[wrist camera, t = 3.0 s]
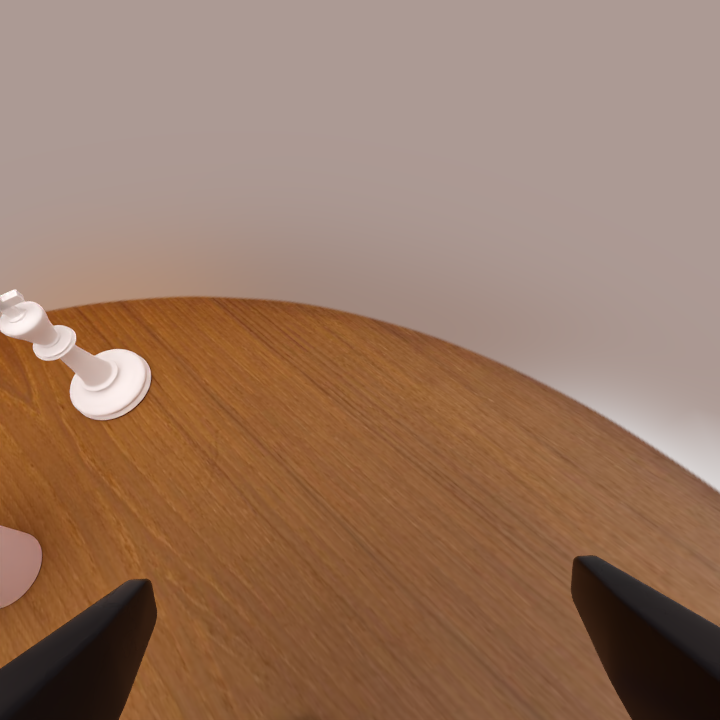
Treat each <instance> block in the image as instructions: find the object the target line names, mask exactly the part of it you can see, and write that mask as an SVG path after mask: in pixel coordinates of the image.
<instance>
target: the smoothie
mask: <svg viewBox="0 0 720 720" xmlns="http://www.w3.org/2000/svg"><path fill="white" fill-rule="evenodd" d="M41 562H42V550H41V547H40V544H39V542H38V541H37V539H36V538H35V537H33V536H32V535H30V534H28V533H24V532H21V531H18V530H14V529H11V528H7V527H4V526H1V525H0V608H3V607H6V606H8V605H10V604H12V603H13V602H15V601H16V600H18V599H19V598H20V597H21V596H22V595H23V594H25V592H26V591H27V590H28V589H29V588H30V587H31V585H32V584H33V582H34V581H35V579H36V577H37V575H38V573H39V570H40V567H41Z"/></svg>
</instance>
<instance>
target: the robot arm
mask: <svg viewBox="0 0 720 720" xmlns="http://www.w3.org/2000/svg"><path fill="white" fill-rule="evenodd" d="M571 594H572V598H573V601H574V603H575V606H576V608H577V610H578V612H579V614H580V617H581V619H582V621H583V623H584V625H585V627H586V630H587V632H588V634H589V636H590V638H591V640H592V643H593V645H594V647H595V649H596V651H597V653H598V656H599V658H600V660H601V662H602V664H603V667H604V669H605V671H606V673H607V675H608V677H609V679H610V681H611V683H612V685H613V687H614V688H615V690H616V692H617V694H618V696H619V698H620V699H621V701H622V703H623V705H624V706H625V708H626V710H627V712H628V713H629V715H630V717H631V719H632V720H720V627H718V626H717V625H715V624H713V623H711V622H710V621H708V620H706V619H705V618H703V617H701V616H699V615H698V614H696V613H694V612H692V611H691V610H689V609H687V608H685V607H684V606H682V605H680V604H679V603H677V602H675V601H673V600H672V599H670V598H668V597H666V596H665V595H663V594H661V593H659V592H658V591H656V590H654V589H653V588H651V587H649V586H647V585H646V584H644V583H642V582H640V581H639V580H637V579H635V578H633V577H632V576H630V575H628V574H627V573H625V572H623V571H621V570H620V569H618V568H616V567H614V566H613V565H611V564H609V563H607V562H606V561H604V560H602V559H600V558H599V557H597V556H593V555H589V556H577V557H575V558H574V560H573V568H572V581H571ZM156 619H157V608H156V603H155V598H154V592H153V587H152V583H151V581H150V580H148V579H132V580H128V581H127V582H125V583H124V584H122V585H121V586H119V587H118V588H116V589H115V590H113V591H112V592H111V593H109V594H108V595H106V596H105V597H103V598H102V599H100V600H99V601H98V602H96V603H95V604H93V605H92V606H90V607H89V608H87V609H86V610H85V611H83V612H82V613H80V614H79V615H77V616H76V617H74V618H73V619H72V620H70V621H69V622H67V623H66V624H64V625H63V626H61V627H60V628H59V629H57V630H56V631H54V632H53V633H51V634H50V635H48V636H47V637H46V638H44V639H43V640H41V641H40V642H38V643H37V644H35V645H34V646H33V647H31V648H30V649H28V650H27V651H25V652H24V653H22V654H21V655H20V656H18V657H17V658H15V659H14V660H12V661H11V662H9V663H8V664H7V665H5V666H4V667H2V668H1V669H0V720H119V717H120V715H121V713H122V711H123V709H124V706H125V704H126V701H127V699H128V696H129V693H130V691H131V688H132V685H133V683H134V680H135V677H136V675H137V672H138V669H139V667H140V664H141V661H142V658H143V656H144V653H145V650H146V648H147V645H148V642H149V640H150V637H151V634H152V631H153V629H154V626H155V623H156Z"/></svg>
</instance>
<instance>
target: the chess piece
mask: <svg viewBox="0 0 720 720" xmlns="http://www.w3.org/2000/svg"><path fill="white" fill-rule="evenodd" d="M23 301H24V298H23V295H22V294H21V293H19V292H18V291H17V290H16V289H15V290H12V291H10V292H8V293H5V294H3V295H0V312H2V313H3V314H2V316H1V318H0V330H1V332H2V333H3V334H5V335H7V336H9V337H13V338H16V339H22V340H26V341H29V342H32V343H33V351H34V353H35V354H36V356H37V357H38V358H40V359H42V360H46V361H51V360H56V359H59V358H60V359H61V360H62V361H63V362H64V363H65V364H67V365H68V366H69V367H70V368H71V369H72V370H73V371H74V372H75V373H76V374H75V375H74V377H73V380H72V382H71V386H70V398H71V401H72V403H73V405H74V406H75V407H76V408H77V409H78V410H79V411H80V412H81V413H82V414H83V415H85V416H86V417H88V418H91V419H95V420H109V419H114V418H117V417H119V416H122V415H124V414H126V413H127V412H129V411H131V410H132V409H133V408H134V407H136V406H137V405H138V404H139V403H140V402H141V400H142V399H143V398H144V396H145V395H146V393H147V391H148V389H149V386H150V382H151V371H150V367H149V365H148V364H147V362H146V361H145V360H144V359H143V358H142V357H140V356H139V355H137V354H135V353H134V352H131V351H129V350H124V349H113V350H108V351H104V352H101V353H99V354H97V355H95V356H94V355H92V354H90V353H88V352H86V351H85V350H83V349H81V348H79V347H78V346H76V345H75V342H76V334H75V332H74V331H73V330H72V329H71V328H69V327H66V326H63V325H56V326H53V325H52V323H51V322H50V321H49V319H48V317H47V314H46V312H45V311H44V309H43V308H42V307H41V306H40V305H39V304H38V303H35V302H31V301H26V302H23Z"/></svg>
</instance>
